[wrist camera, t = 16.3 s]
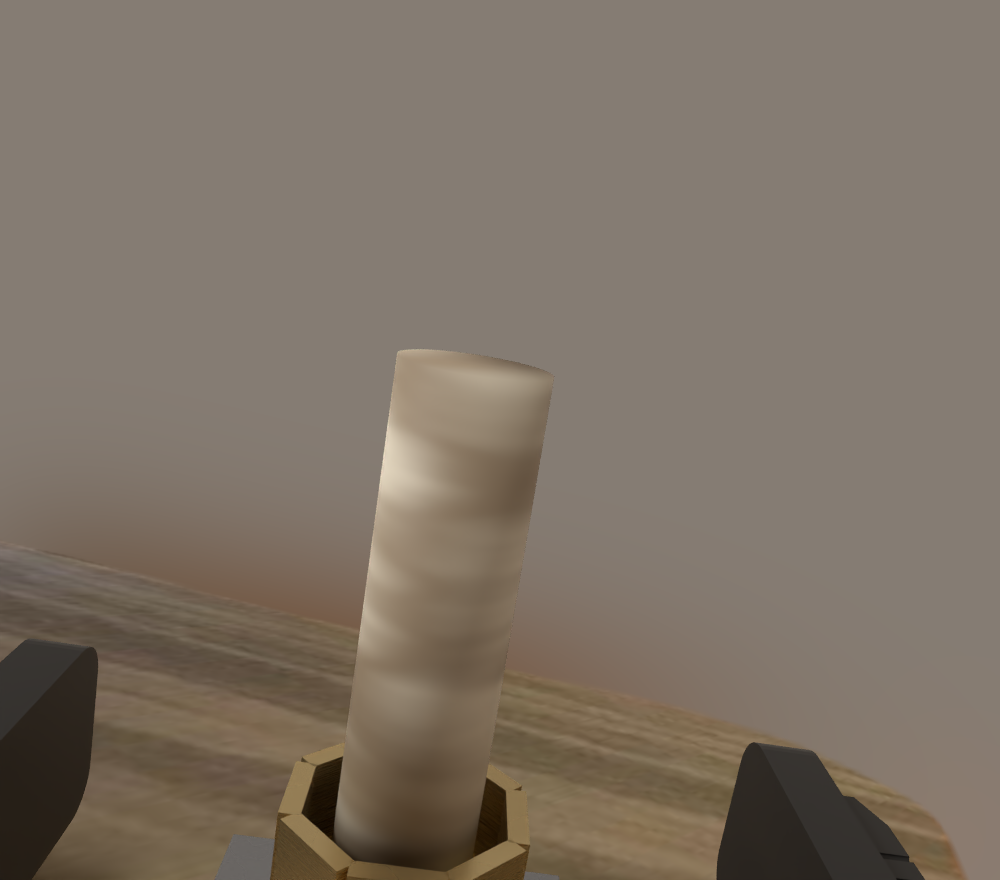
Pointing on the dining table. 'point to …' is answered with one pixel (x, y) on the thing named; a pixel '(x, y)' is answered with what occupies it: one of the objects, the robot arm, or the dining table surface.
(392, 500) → the cylindrical post
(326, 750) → the cup bracket
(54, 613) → the dining table surface
